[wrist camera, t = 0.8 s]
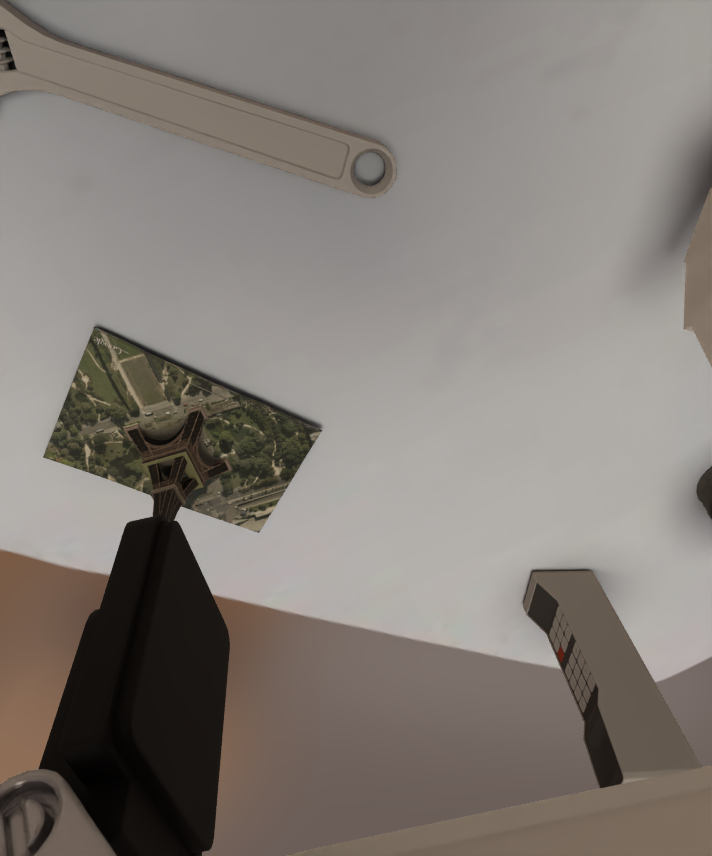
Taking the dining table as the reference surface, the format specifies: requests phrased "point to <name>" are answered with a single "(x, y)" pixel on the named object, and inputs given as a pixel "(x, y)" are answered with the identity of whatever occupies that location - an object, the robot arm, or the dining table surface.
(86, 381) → the eiffel tower figurine
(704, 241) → the spiral staircase
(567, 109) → the dining table surface
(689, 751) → the vintage mobile phone
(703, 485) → the beverage cup
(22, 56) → the adjustable wrench
